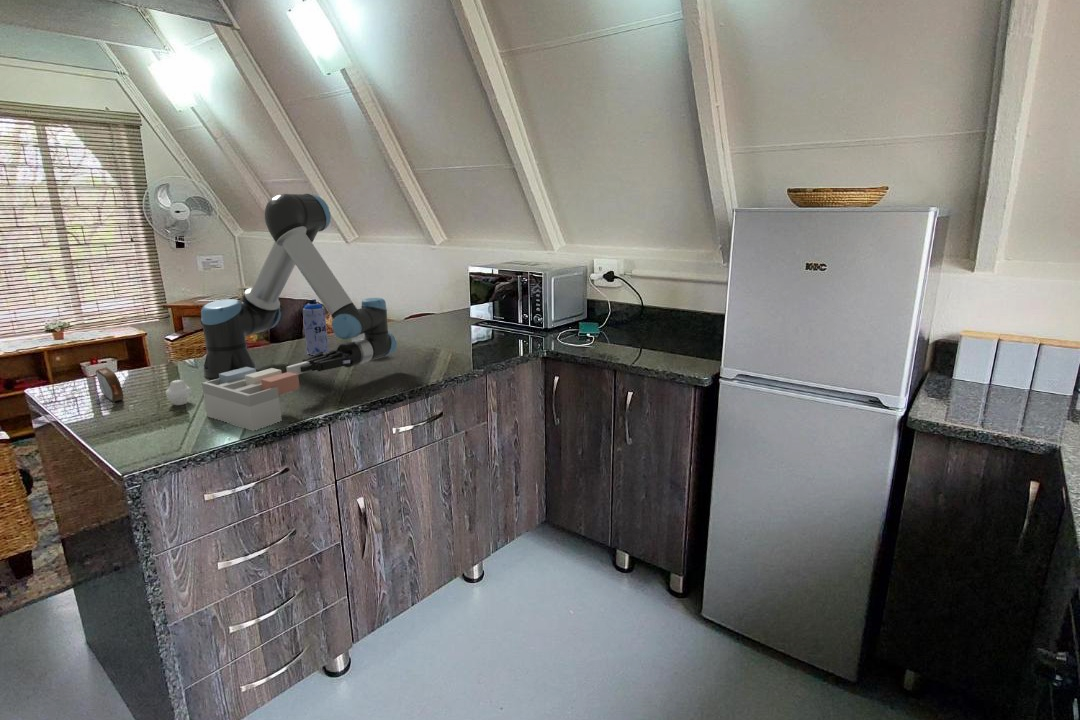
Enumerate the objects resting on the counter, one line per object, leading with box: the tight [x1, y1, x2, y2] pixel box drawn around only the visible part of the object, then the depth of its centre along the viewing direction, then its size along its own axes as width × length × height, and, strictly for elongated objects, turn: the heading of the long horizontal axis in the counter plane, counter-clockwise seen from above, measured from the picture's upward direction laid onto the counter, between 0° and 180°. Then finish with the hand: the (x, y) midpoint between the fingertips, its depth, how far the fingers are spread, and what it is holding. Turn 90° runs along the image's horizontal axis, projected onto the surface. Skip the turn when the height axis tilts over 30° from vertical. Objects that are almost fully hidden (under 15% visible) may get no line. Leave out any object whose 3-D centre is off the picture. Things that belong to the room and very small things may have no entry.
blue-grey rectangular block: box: [219, 367, 257, 384], centre depth 157 cm, size 4×8×4 cm, turn 149°
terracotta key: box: [261, 371, 301, 396], centre depth 153 cm, size 4×8×4 cm, turn 149°
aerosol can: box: [302, 298, 330, 355], centre depth 215 cm, size 8×8×20 cm
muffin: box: [165, 379, 192, 406], centre depth 164 cm, size 6×6×7 cm
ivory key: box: [245, 367, 283, 386], centre depth 156 cm, size 4×8×4 cm, turn 149°
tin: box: [95, 367, 124, 403], centre depth 168 cm, size 15×3×8 cm, turn 48°
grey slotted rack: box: [201, 378, 282, 432], centre depth 152 cm, size 20×8×9 cm, turn 59°
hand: (288, 371), depth 163 cm, fingers closed
